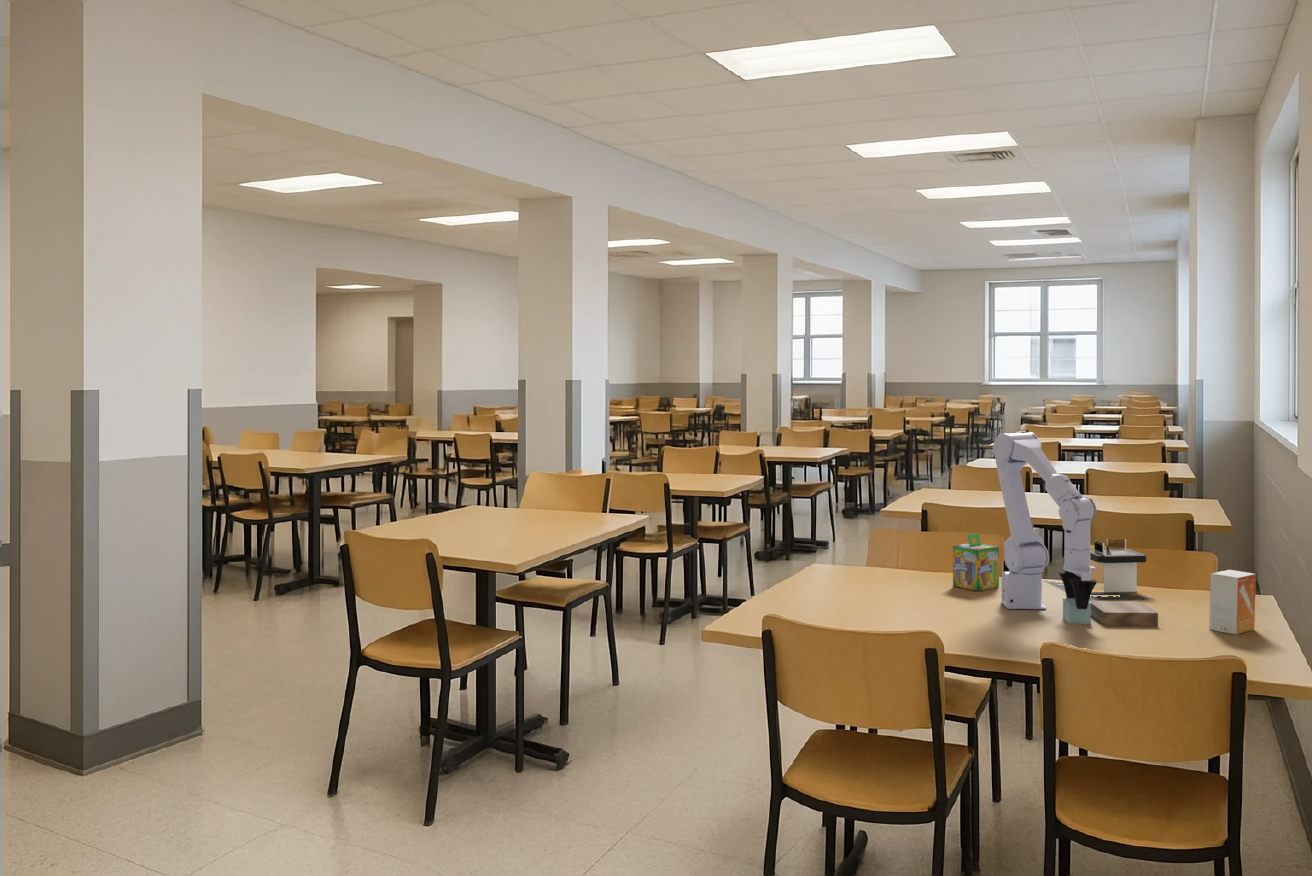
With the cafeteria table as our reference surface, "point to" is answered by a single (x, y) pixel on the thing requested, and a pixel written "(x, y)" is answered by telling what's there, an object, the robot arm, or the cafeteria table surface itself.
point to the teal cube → (1075, 612)
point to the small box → (1232, 601)
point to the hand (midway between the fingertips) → (1077, 605)
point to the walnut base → (1123, 613)
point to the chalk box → (975, 565)
